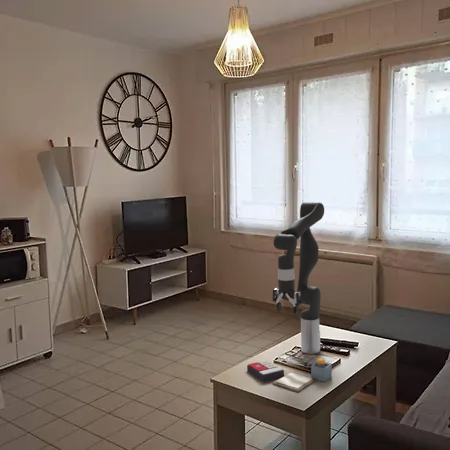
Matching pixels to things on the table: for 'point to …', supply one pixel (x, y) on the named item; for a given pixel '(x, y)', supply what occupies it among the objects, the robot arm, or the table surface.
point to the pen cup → (321, 372)
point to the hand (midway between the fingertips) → (287, 312)
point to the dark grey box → (265, 371)
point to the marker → (321, 362)
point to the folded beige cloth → (294, 381)
